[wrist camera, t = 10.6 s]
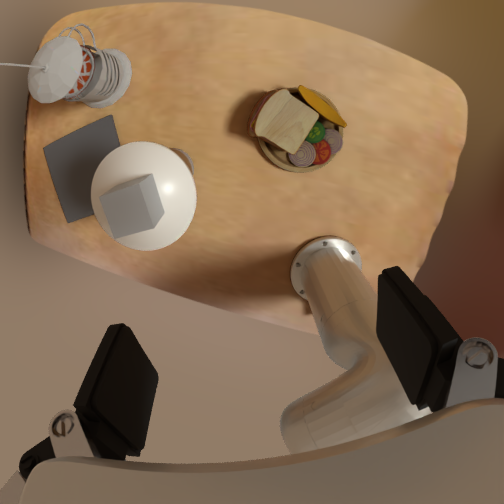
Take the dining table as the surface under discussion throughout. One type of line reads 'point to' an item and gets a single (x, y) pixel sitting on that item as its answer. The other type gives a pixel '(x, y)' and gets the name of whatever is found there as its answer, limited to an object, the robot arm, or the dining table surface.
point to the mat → (80, 164)
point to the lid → (143, 195)
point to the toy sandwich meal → (297, 128)
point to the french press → (78, 72)
